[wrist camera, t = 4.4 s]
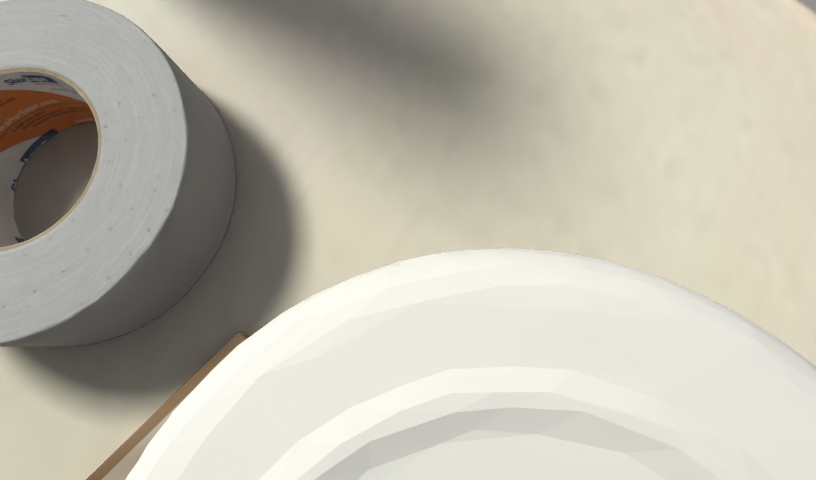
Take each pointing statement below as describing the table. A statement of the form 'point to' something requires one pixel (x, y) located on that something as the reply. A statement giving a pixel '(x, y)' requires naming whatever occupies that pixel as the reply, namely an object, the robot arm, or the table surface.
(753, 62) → the table surface
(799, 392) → the sprinkles bottle
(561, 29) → the table surface
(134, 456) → the clipboard
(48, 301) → the tape roll
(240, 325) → the table surface
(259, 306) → the table surface
